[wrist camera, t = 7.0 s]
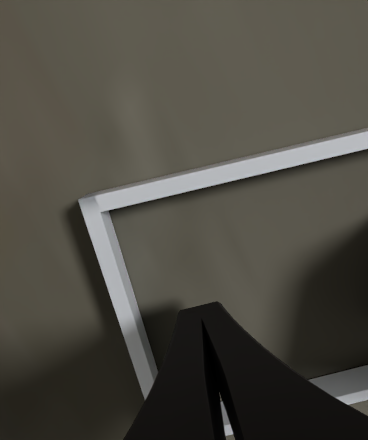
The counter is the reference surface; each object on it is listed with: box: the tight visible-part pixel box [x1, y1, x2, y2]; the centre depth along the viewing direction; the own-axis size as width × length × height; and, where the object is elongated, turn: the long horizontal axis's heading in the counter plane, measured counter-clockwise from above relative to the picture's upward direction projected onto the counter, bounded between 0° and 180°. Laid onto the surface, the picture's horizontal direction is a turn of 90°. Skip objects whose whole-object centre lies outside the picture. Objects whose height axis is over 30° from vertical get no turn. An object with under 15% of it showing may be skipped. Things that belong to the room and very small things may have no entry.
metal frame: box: [78, 128, 368, 436], centre depth 10 cm, size 10×14×1 cm
